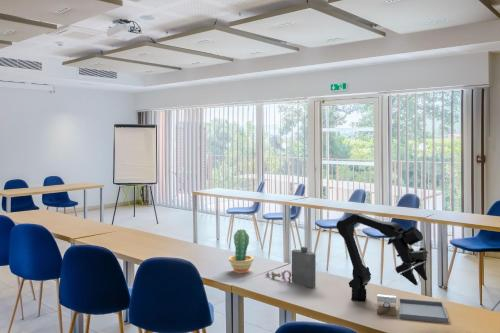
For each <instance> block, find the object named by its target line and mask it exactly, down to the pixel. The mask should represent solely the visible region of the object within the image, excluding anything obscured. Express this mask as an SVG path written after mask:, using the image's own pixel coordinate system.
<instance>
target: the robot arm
mask: <svg viewBox="0 0 500 333" xmlns="http://www.w3.org/2000/svg"><path fill="white" fill-rule="evenodd" d="M357 224H360V225H363V226H367V227H369V228H372V229H374V230H377V231H379V232H380V233H381V234H382V235H384V236H385V237H388V241H387V245H392V246H393V247H394V249H395V251H396V253H397V254H396V256H397V258H400V260H401V264H400V265H397V266H396V267H395V271H396V274H399V275H400V276H403V278H405V279H406V280H408V281H409V282H410V283H411V284H413V285H415V286H418V285H419V284H418V281H417V279H416V276H415V274H414V271H415V272H416V273H417V274H418V275H419V276H420V277H421V278H422V280H424V281H427V280H428V277H427V273H426V267H425V266H426V263H427V261H428V259H427V258H428V254H429V252H428V251H427V249H426V248H425V247H419V248H418V250H414V248H412V247H410V246H413V245H415V244H417V243H420V242H421V241H423V239H424V236H423V233H422V232H421V231H420V230H419V229H418V228H416V226H414V225H413V226H411V227H409V228H408V229H405V228H404V227H402V226H401V225H400V224H399V223H398V222H392V221H382V220H380V219H376V218H374V217H371V216H368V215H365V214H362V212H357V213H353V214H352V215H350V216H348V217H346V218H345V219H341V220H338V221H337V222H336V224H335V227H336V230H337V232H338V233H339V235H340V236H341V237H342V238H343V240H344V243H345V246H346V249H347V253H348V256H349V259H350V261H351V265H352V274H351V275H352V279H351V280H350V281H349V282H348V287H349V288H351V298H350V300H351V301H358V302H366V300H367V288H366V286H368V283H369V282H370V281H371V278H372V274H371V272H370V268H369V267H368V266H367V267H366V266H365V265H364V262H363V260H362V258H361V254H360V251H359V249H358V246H357V242H356V239H355V237H354V236H355V235H354V234H355V227H354V226H356V225H357Z"/></svg>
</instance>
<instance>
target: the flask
mask: <svg viewBox="0 0 500 333" xmlns="http://www.w3.org/2000/svg"><path fill="white" fill-rule="evenodd" d="M316 255H317V254H316V253H315V252H312V251H308V247H307V246H301V248H300V249H293V250H291V283H293V284H295V285H296V284H297V285H301V286H304V287H307V288H315V287H316V285H317V283H316V279H317V278H316V276H317V274H316Z"/></svg>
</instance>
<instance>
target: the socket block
mask: <svg viewBox="0 0 500 333" xmlns="http://www.w3.org/2000/svg"><path fill="white" fill-rule="evenodd" d="M376 303H377V309H376V312H377V315H383V316H384V315H387V316H397V302H396V303H389V307H384V302H377V301H376Z"/></svg>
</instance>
